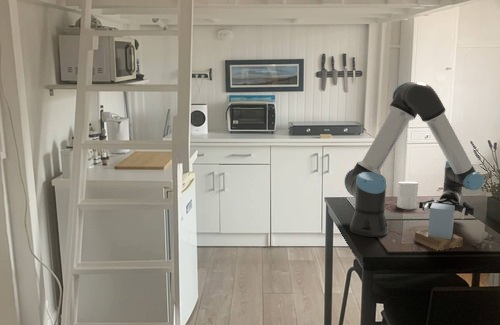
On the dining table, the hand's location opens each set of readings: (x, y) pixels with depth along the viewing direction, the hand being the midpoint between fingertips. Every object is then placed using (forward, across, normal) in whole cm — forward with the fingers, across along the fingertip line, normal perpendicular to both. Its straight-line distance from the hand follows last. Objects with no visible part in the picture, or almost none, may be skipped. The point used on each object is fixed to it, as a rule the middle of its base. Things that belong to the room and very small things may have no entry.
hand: (443, 213), depth 187 cm
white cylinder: (-44, +21, -11) cm, 50 cm away
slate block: (+3, 0, -8) cm, 8 cm away
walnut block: (+4, +1, -12) cm, 12 cm away
